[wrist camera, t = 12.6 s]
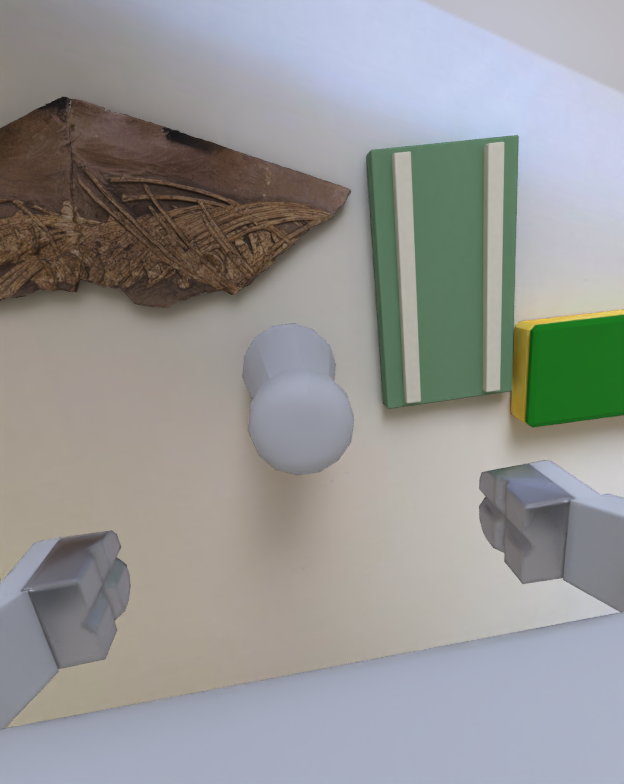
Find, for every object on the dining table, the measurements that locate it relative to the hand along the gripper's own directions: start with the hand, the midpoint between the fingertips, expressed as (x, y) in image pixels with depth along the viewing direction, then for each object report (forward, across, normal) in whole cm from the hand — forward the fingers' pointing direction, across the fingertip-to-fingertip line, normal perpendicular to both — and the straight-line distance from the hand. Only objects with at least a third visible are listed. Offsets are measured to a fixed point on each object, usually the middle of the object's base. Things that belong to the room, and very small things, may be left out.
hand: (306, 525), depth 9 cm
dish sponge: (+20, -23, +4) cm, 31 cm away
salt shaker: (+20, 0, +1) cm, 20 cm away
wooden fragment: (+20, +7, -10) cm, 23 cm away
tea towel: (+20, -11, -3) cm, 23 cm away
